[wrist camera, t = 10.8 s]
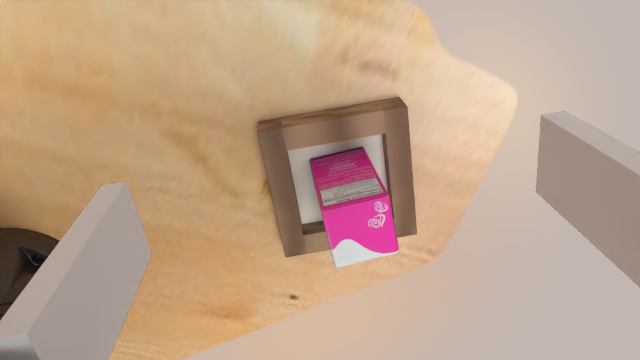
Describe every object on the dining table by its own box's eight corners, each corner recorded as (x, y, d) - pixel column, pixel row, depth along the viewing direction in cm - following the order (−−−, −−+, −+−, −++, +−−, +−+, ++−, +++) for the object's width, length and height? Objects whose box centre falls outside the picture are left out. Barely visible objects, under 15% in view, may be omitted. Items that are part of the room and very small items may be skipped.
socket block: (284, 240, 53) (285, 257, 50) (258, 121, 47) (257, 132, 44) (409, 218, 53) (417, 234, 50) (399, 97, 47) (407, 106, 44)
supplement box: (374, 194, 51) (400, 255, 40) (320, 206, 51) (331, 271, 40) (365, 144, 48) (390, 196, 38) (308, 157, 48) (317, 213, 38)
